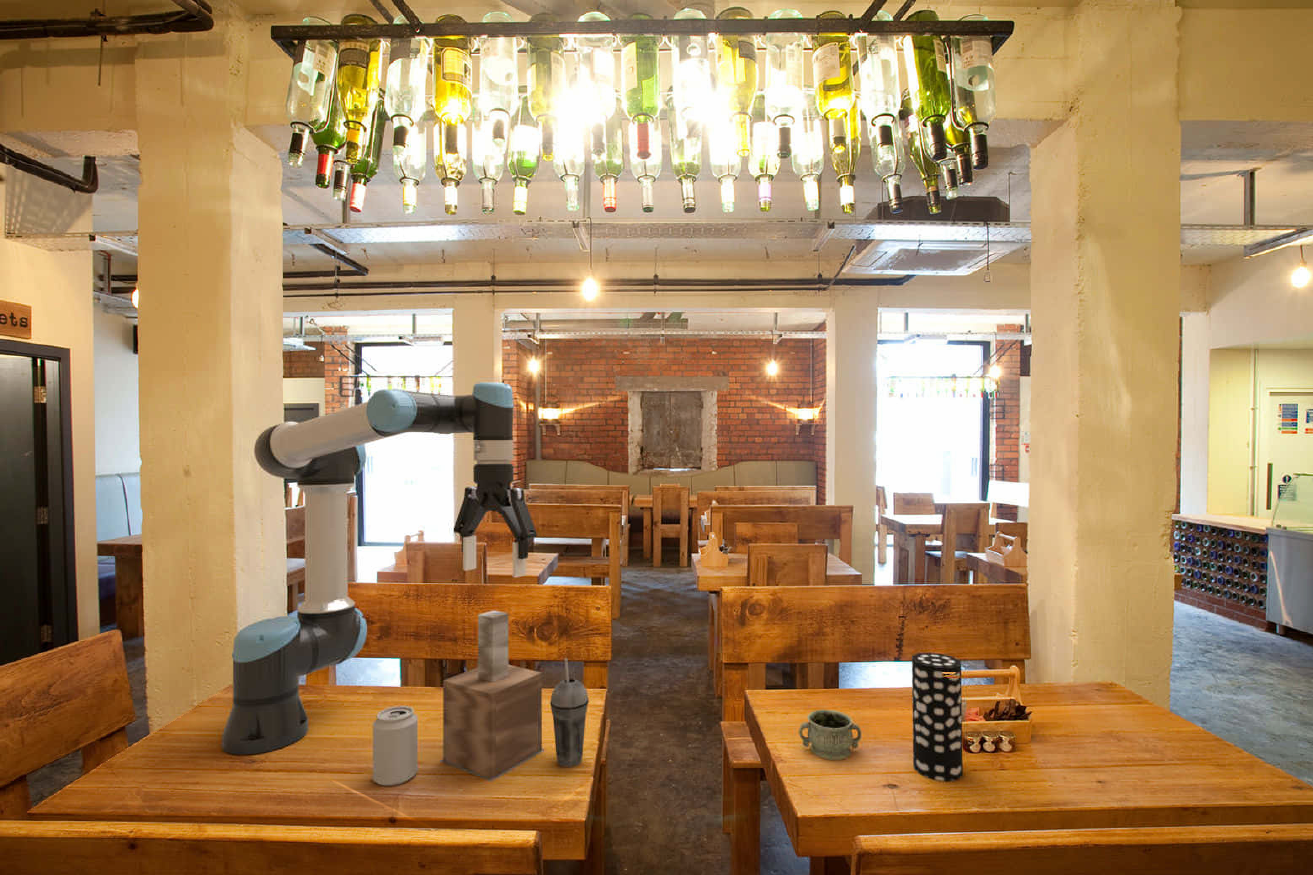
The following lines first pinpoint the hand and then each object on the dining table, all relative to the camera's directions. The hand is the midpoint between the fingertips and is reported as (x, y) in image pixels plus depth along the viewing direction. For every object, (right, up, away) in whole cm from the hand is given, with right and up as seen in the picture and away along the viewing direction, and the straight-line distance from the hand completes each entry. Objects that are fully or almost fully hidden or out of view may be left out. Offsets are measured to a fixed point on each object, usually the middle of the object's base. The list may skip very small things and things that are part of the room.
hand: (493, 572), depth 123 cm
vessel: (+65, -35, +2) cm, 74 cm away
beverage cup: (+15, -35, -3) cm, 39 cm away
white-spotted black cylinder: (+83, -35, -6) cm, 90 cm away
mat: (0, -35, -1) cm, 35 cm away
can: (-16, -36, -8) cm, 40 cm away
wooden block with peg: (0, -35, -1) cm, 35 cm away
